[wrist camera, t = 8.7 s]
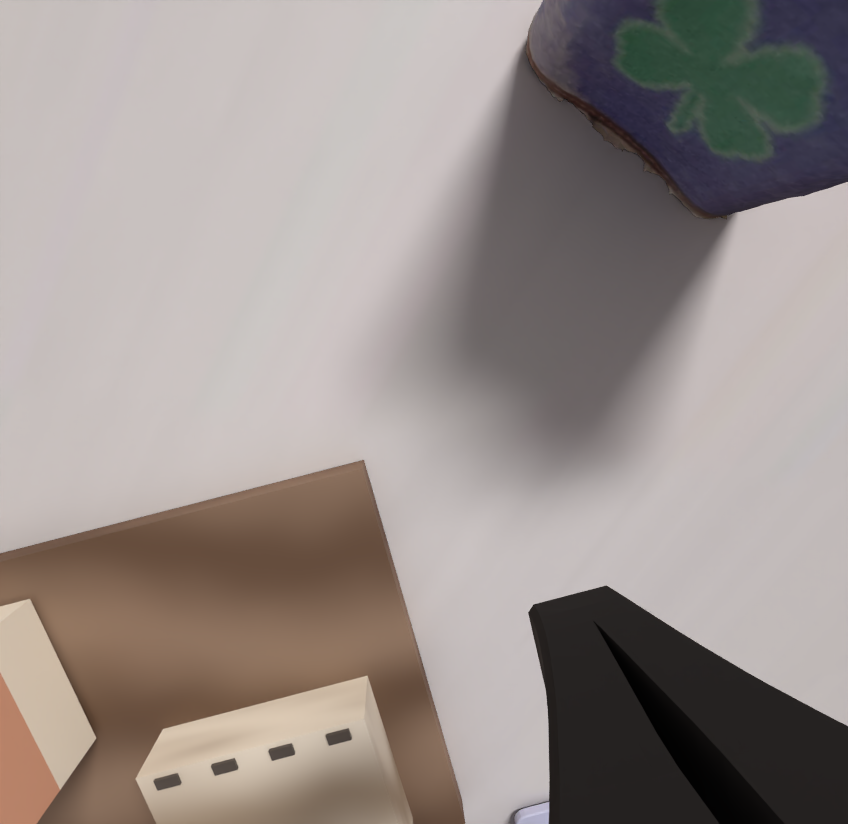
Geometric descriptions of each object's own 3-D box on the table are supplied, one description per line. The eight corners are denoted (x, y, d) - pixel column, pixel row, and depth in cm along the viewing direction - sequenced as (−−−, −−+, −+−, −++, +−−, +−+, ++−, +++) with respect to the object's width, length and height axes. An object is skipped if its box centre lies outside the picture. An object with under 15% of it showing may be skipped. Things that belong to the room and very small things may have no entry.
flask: (507, 59, 15) (752, -478, 5) (564, -25, 15) (960, -800, 5) (713, 239, 17) (1231, 122, 6) (769, 166, 17) (1417, -83, 6)
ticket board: (461, 800, 21) (473, 881, 18) (14, 918, 21) (-50, 1020, 18) (363, 460, 18) (357, 490, 15) (-171, 597, 18) (-289, 657, 15)
